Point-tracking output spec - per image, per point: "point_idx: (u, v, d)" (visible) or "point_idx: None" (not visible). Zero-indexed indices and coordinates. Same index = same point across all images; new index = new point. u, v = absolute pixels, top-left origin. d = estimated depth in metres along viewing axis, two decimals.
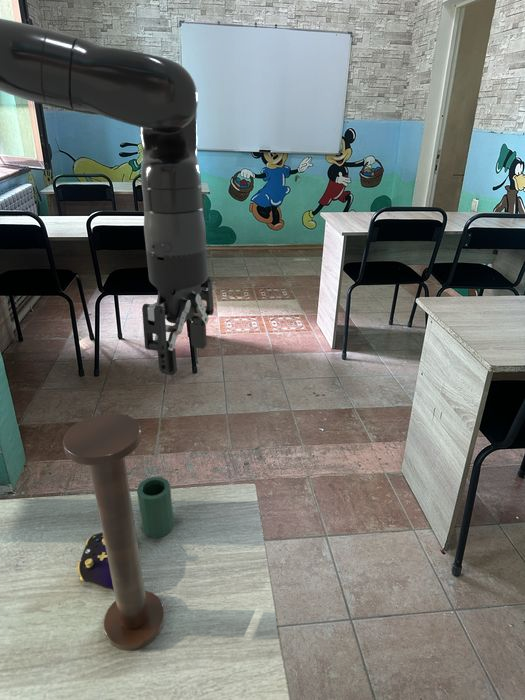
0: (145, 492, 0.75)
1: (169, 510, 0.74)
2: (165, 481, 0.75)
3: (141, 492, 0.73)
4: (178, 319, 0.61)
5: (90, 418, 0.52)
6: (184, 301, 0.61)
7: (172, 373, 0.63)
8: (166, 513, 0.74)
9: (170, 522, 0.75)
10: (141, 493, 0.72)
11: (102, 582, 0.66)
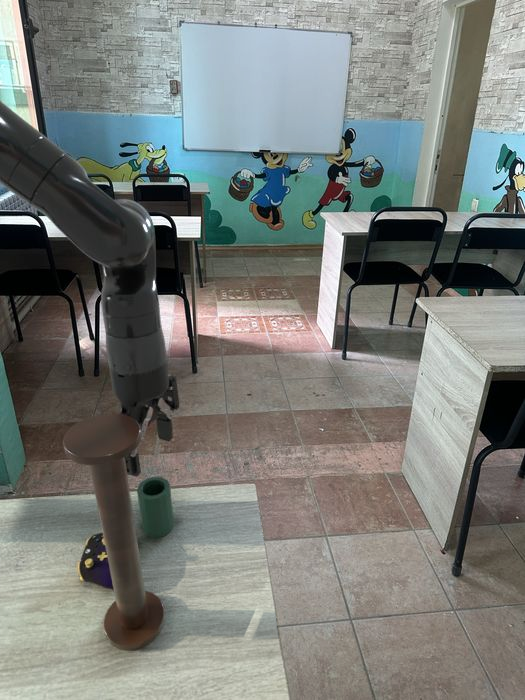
0: (145, 492, 0.75)
1: (169, 510, 0.74)
2: (165, 481, 0.75)
3: (141, 492, 0.73)
4: (140, 427, 0.64)
5: (90, 418, 0.52)
6: (146, 409, 0.65)
7: (136, 475, 0.67)
8: (166, 513, 0.74)
9: (170, 522, 0.75)
10: (141, 493, 0.72)
11: (102, 582, 0.66)
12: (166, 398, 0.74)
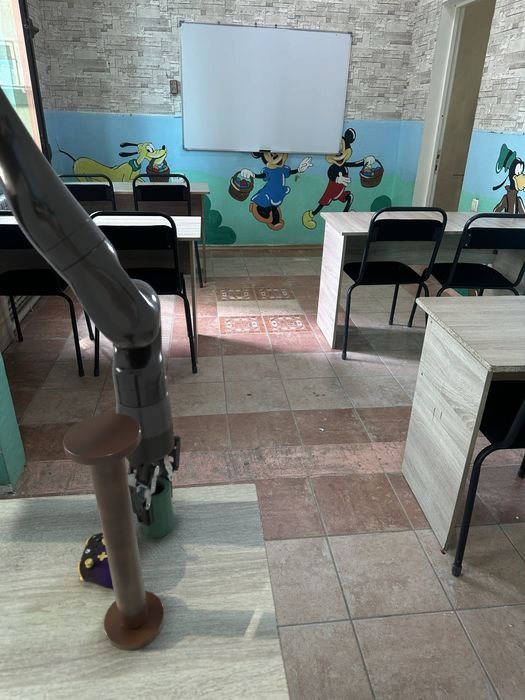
0: None
1: (169, 510, 0.74)
2: (165, 481, 0.75)
3: None
4: (150, 485, 0.69)
5: (90, 418, 0.52)
6: (153, 468, 0.69)
7: (149, 524, 0.73)
8: (166, 513, 0.74)
9: (170, 522, 0.75)
10: None
11: (102, 582, 0.66)
12: None
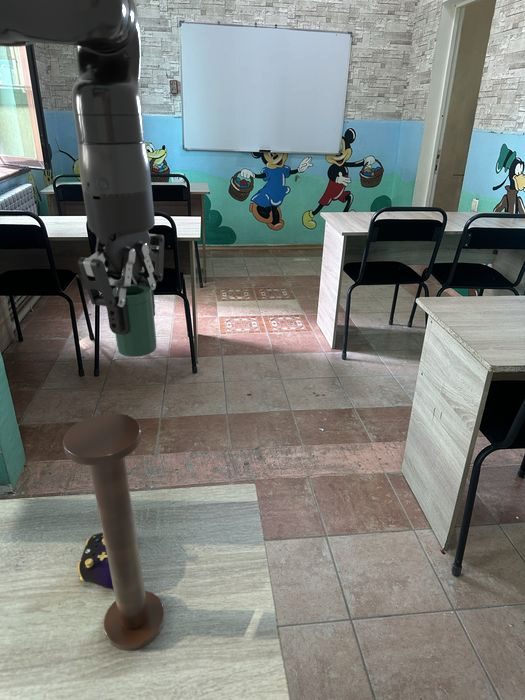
0: None
1: (150, 321, 0.60)
2: (145, 286, 0.61)
3: (115, 293, 0.58)
4: (123, 272, 0.55)
5: (90, 418, 0.52)
6: (127, 250, 0.55)
7: (124, 333, 0.58)
8: (146, 323, 0.60)
9: (151, 340, 0.61)
10: (114, 294, 0.58)
11: (102, 582, 0.66)
12: None
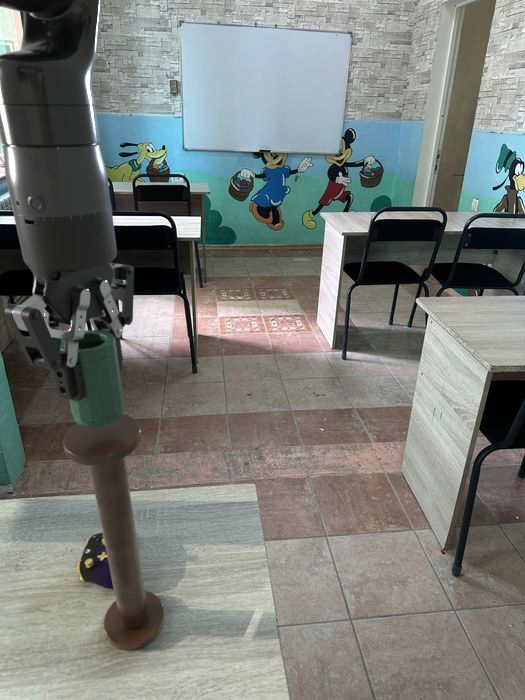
0: None
1: (114, 381, 0.45)
2: (108, 334, 0.46)
3: None
4: (73, 321, 0.40)
5: None
6: (78, 291, 0.40)
7: (77, 399, 0.44)
8: (108, 384, 0.45)
9: (116, 404, 0.47)
10: None
11: (102, 582, 0.66)
12: None
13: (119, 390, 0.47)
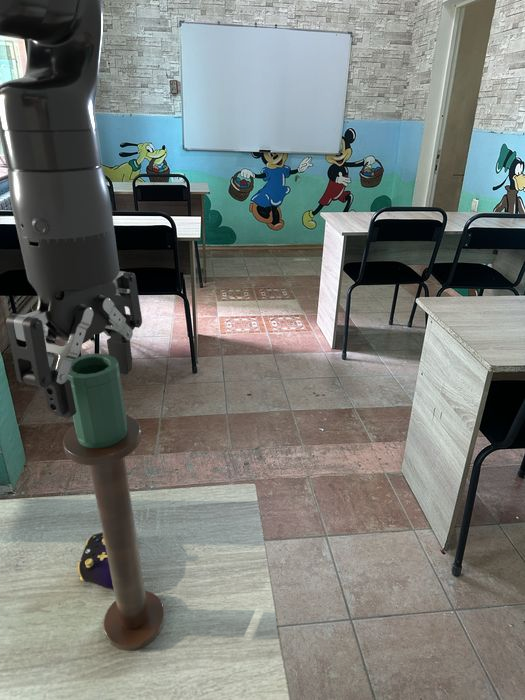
0: None
1: (117, 403, 0.47)
2: (111, 358, 0.47)
3: None
4: (71, 336, 0.41)
5: None
6: (81, 309, 0.41)
7: (68, 415, 0.43)
8: (111, 407, 0.46)
9: (119, 425, 0.48)
10: (69, 371, 0.45)
11: (102, 582, 0.66)
12: (123, 312, 0.50)
13: (122, 412, 0.48)
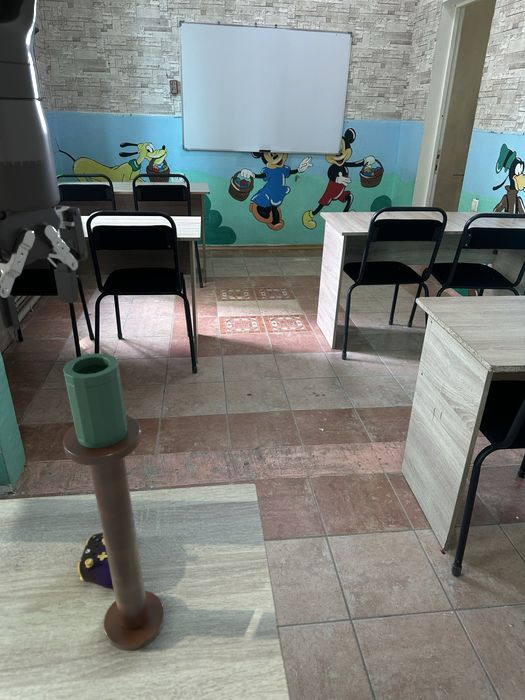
0: None
1: (117, 403, 0.47)
2: (111, 358, 0.47)
3: (69, 370, 0.45)
4: (13, 255, 0.45)
5: None
6: (23, 231, 0.46)
7: (12, 329, 0.48)
8: (111, 407, 0.46)
9: (119, 425, 0.48)
10: (69, 371, 0.45)
11: (102, 582, 0.66)
12: (71, 246, 0.55)
13: (122, 412, 0.48)
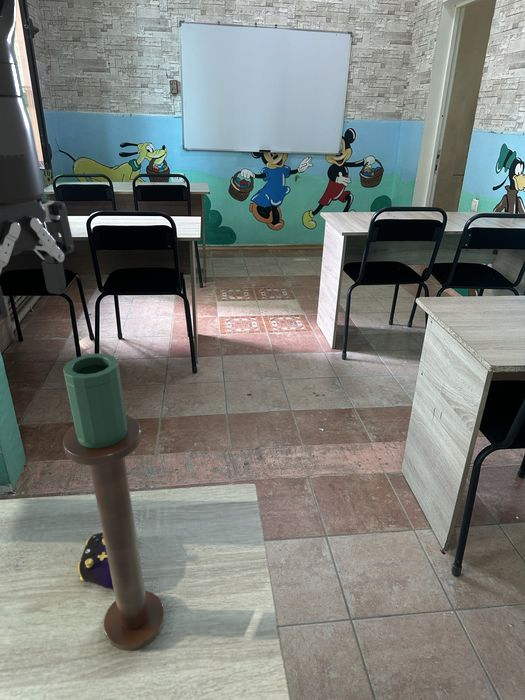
0: None
1: (117, 403, 0.47)
2: (111, 358, 0.47)
3: (69, 370, 0.45)
4: (0, 246, 0.48)
5: None
6: (9, 223, 0.48)
7: (0, 318, 0.50)
8: (111, 407, 0.46)
9: (119, 425, 0.48)
10: (69, 371, 0.45)
11: (102, 582, 0.66)
12: (57, 239, 0.57)
13: (122, 412, 0.48)
